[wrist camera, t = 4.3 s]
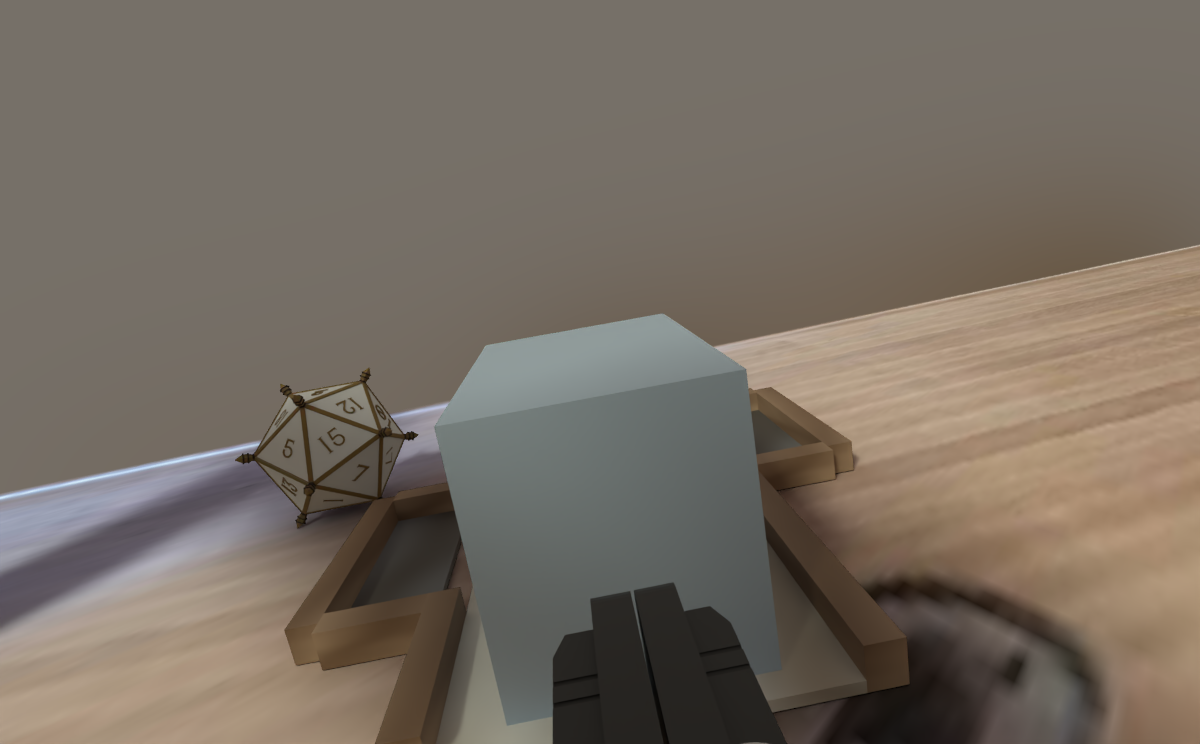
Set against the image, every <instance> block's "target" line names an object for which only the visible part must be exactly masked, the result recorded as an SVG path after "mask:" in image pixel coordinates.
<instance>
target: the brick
mask: <svg viewBox="0 0 1200 744" xmlns="http://www.w3.org/2000/svg"><path fill="white" fill-rule="evenodd" d="M434 428H435V432H436V436H437V440H438V444H439V448H440V452H441V456H442V461H443V465H444V469H445V473H446V477H447V481H448V485H449V489H450V493H451V498H452V502H453V506H454V510H455V514H456V518H457V522H458V526H459V531H460V535H461V539H462V543H463V547H464V551H465V555H466V559H467V563H468V568H469V572H470V576H471V580H472V584H473V588H474V592H475V596H476V600H477V605H478V609H479V613H480V617H481V621H482V625H483V629H484V633H485V638H486V642H487V646H488V650H489V654H490V658H491V662H492V666H493V670H494V675H495V679H496V683H497V687H498V691H499V695H500V699H501V703H502V707H503V712H504V716H505V720H506V724H507V726H509V725H514V724H519V723H524V722H528V721H533V720H538V719H543V718H548V717H553V657H554V655H555V653H556V651H557V649H558V647H559V645H560V643H561V641H562V639H563V638H564V636H565V635H567V634H572V633H577V632H582V631H587V630H592V629H593V624H592V614H591V604H590V599H591V598H596V597H601V596H607V595H612V594H617V593H622V592H627V591H630V592H631V597H632V601H633V606H634V610H635V615H636V619H637V624H638V629H639V633H640V638H641V642H642V636H641V631H640V625H639V619H638V614H637V608H636V602H635V596H634V590H636V589H641V588H646V587H652V586H657V585H662V584H667V583H672V582H674V584H675V586H676V589H677V592H678V595H679V598H680V601H681V603H682V606H683V609H684V611H687V610H692V609H697V608H702V607H708V606H711V607H712V608H713V609H714V610H716V611H717V612H718V613H719V614H721V615H722V616H723V617H725V618H726V619H727V620H728V621H730V622H731V624H732V626H733V629H734V631H735V633H736V635H737V637H738V639H739V642H740V644H741V647H742V649H743V650H744V652H745V655H746V657H747V659H748V661H749V663H750V667H751V668H752V670H753V672H754V674H755V675H759V674H764V673H768V672H773V671H778V670H782V667H781V659H780V650H779V642H778V634H777V625H776V617H775V608H774V600H773V592H772V583H771V575H770V566H769V558H768V550H767V541H766V533H765V524H764V516H763V508H762V499H761V491H760V482H759V474H758V465H757V457H756V449H755V440H754V432H753V423H752V415H751V407H750V398H749V390H748V381H747V373H746V369H745V368H744V367H742V366H741V365H739V364H738V363H736V362H735V361H733V360H732V359H730V358H729V357H727V356H726V355H724V354H723V353H721V352H720V351H718V350H717V349H715V348H714V347H712V346H711V345H709V344H708V343H706V342H705V341H703V340H702V339H700V338H699V337H697V336H696V335H694V334H693V333H691V332H690V331H688V330H687V329H685V328H684V327H682V326H681V325H679V324H678V323H676V322H675V321H673V320H672V319H670V318H669V317H667V316H666V315H664V314H657V315H652V316H646V317H641V318H635V319H630V320H624V321H619V322H614V323H608V324H602V325H596V326H591V327H586V328H580V329H574V330H569V331H563V332H558V333H552V334H547V335H541V336H535V337H530V338H524V339H519V340H514V341H509V342H502V343H497V344H491V345H486V346H485V348H484V349H483V351H482V353H481V354H480V356H479V357H478V359H477V361H476V362H475V364H474V365H473V367H472V368H471V370H470V371H469V373H468V374H467V376H466V378H465V379H464V381H463V382H462V384H461V386H460V387H459V389H458V390H457V392H456V393H455V395H454V397H453V398H452V400H451V401H450V403H449V404H448V406H447V407H446V409H445V411H444V412H443V414H442V415H441V417H440V418H439V420H438V422H437V423H436V425H435V426H434ZM642 647H643V642H642ZM643 651H644V648H643ZM644 656H645V654H644ZM645 661H646V659H645Z"/></svg>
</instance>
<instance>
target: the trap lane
mask: <svg viewBox="0 0 1200 744" xmlns="http://www.w3.org/2000/svg"><path fill="white" fill-rule="evenodd" d="M748 390H749V398H750V407H751V415H752V423H753V432H754V440H755V449H756V457H757V465H758V474H759V482H760V491H761V499H762V508H763V516H764V524H765V533H766V541H767V550H768V558H769V566H770V575H771V583H772V592H773V600H774V608H775V617H776V625H777V634H778V642H779V650H780V659H781V667H782V670H778V671H773V672H768V673H764V674H759V675H755V676H756V678H757V680H758V683H759V685H760V687H761V689H762V691H763V693H764V696H765V698H766V700H767V702H768V704H769V706H770V709H771V711H772V713H773V712H778V711H782V710H787V709H792V708H797V707H802V706H807V705H811V704H816V703H821V702H826V701H831V700H836V699H840V698H845V697H850V696H855V695H860V694H865V693H869V692H874V691H879V690H884V689H889V688H894V687H898V686H903V685H908V684H910V681H909V666H908V650H907V637H906V636H905V635H904V634H903V632H902V631H901V630H900V629H899V628H898V627H897V626H896V625H895V623H894V622H893V621H892V620H891V619H890V618H889V617H888V616H887V614H886V613H885V612H884V611H883V610H882V609H881V608H880V607H879V605H878V604H877V603H876V602H875V601H874V600H873V599H872V598H871V596H870V595H869V594H868V593H867V592H866V591H865V590H864V589H863V588H862V586H861V585H860V584H859V583H858V582H857V581H856V580H855V579H854V577H853V576H852V575H851V574H850V573H849V572H848V571H847V570H846V568H845V567H844V566H843V565H842V564H841V563H840V562H839V561H838V559H837V558H836V557H835V556H834V555H833V554H832V553H831V552H830V550H829V549H828V548H827V547H826V546H825V545H824V544H823V543H822V541H821V540H820V539H819V538H818V537H817V536H816V535H815V534H814V533H813V531H812V530H811V529H810V528H809V527H808V526H807V525H806V524H805V522H804V521H803V520H802V519H801V518H800V517H799V516H798V515H797V513H796V512H795V511H794V510H793V509H792V508H791V507H790V506H789V504H788V503H787V502H786V501H785V500H784V499H783V498H782V497H781V495H780V494H779V493H778V492H777V491H776V490H781V489H787V488H792V487H797V486H802V485H807V484H812V483H818V482H823V481H828V480H833V479H836V477H835V473H840V472H845V471H850V470H854V467H853V455H852V443H851V441H850V440H849V439H847V438H846V437H844V436H843V435H841V434H840V433H838V432H837V431H835V430H834V429H832V428H831V427H829V426H828V425H826V424H825V423H823V422H822V421H820V420H819V419H817V418H816V417H814V416H813V415H812V414H810V413H809V412H807V411H806V410H804V409H803V408H801V407H800V406H798V405H797V404H795V403H794V402H792V401H791V400H789V399H788V398H786V397H785V396H783V395H782V394H780V393H779V392H777V391H776V390H774V389H773V388H772V387H769V388H764V389H758V390H752V389H751V388H749V389H748ZM461 541H462V539H461V535H460V531H459V526H458V522H457V518H456V514H455V510H454V506H453V502H452V498H451V493H450V489H449V485H448V482H447V483H442V484H436V485H431V486H426V487H420V488H415V489H410V490H404V491H399V492H398V494H397V495H396V496H394V497H388V498H383V499H378V500H374V501H373V502H372V504H371V505H370V507H369V508H368V509H367V511H366V512H365V514H364V515H363V517H362V518H361V520H360V521H359V522H358V524H357V525H356V527H355V528H354V530H353V531H352V533H351V534H350V536H349V537H348V538H347V540H346V541H345V543H344V544H343V546H342V547H341V549H340V550H339V552H338V553H337V554H336V556H335V557H334V559H333V560H332V562H331V563H330V565H329V566H328V567H327V569H326V570H325V572H324V573H323V575H322V576H321V578H320V579H319V581H318V582H317V583H316V585H315V586H314V588H313V589H312V591H311V592H310V594H309V595H308V597H307V598H306V599H305V601H304V602H303V604H302V605H301V607H300V608H299V610H298V611H297V612H296V614H295V615H294V617H293V618H292V620H291V621H290V623H289V624H288V626H287V627H286V628H285V634H286V637H287V640H288V643H289V646H290V649H291V652H292V655H293V658H294V661H295V664H296V665H301V664H306V663H311V662H317V661H320V663H321V667H322V670H327V669H332V668H337V667H342V666H347V665H352V664H357V663H362V662H367V661H373V660H378V659H383V658H388V657H393V656H398V655H403V654H407V655H406V657H405V660H404V663H403V666H402V669H401V672H400V674H399V677H398V680H397V683H396V686H395V689H394V691H393V694H392V697H391V700H390V703H389V706H388V708H387V711H386V714H385V717H384V720H383V722H382V725H381V728H380V731H379V734H378V737H377V739H376V742H375V744H553V717H548V718H543V719H538V720H533V721H528V722H524V723H519V724H514V725H509V726H507V724H506V720H505V716H504V712H503V707H502V703H501V699H500V695H499V691H498V687H497V683H496V679H495V675H494V670H493V666H492V662H491V658H490V654H489V650H488V646H487V642H486V638H485V633H484V629H483V625H482V621H481V617H480V613H479V609H478V605H477V600H476V596H475V592H474V588H473V587H472V591H471V595H470V600H469V604H468V608H467V612H466V609H465V605H464V601H463V597H462V593H461V589H460V587H458V588H452V589H447V587H448V583H449V580H450V577H451V573H452V570H453V567H454V564H455V560H456V557H457V554H458V551H459V547H460V544H461Z"/></svg>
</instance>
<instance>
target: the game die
mask: <svg viewBox="0 0 1200 744" xmlns="http://www.w3.org/2000/svg"><path fill="white" fill-rule="evenodd" d="M360 376H361V380H360V381H356V382H351V383H345V384H340V385H335V386H329V387H323V388H318V389H312V390H307V391H302V392H296V393H292V392H291V389H290V388H289V386H287V385H286V386H285V385H282V384H280V386H281V390H280V392H282V393H283V395H286V396H287V398H286V400H285V402H284V403H283V405H282V407H281V409H280V410H279V412H278V414H277V415H276V417H275V419H274V421H273V422H272V424H271V426H270V428H269V429H268V431H267V433H266V434H265V436H264V438H263V440H262V441H261V443H260V445H259V446H258V448H257V450H256V452H255V453H254V454H253V455H251V454H248V453H247V454H244V455H243V454H242V455H241V456H240V457H238V458H237V459H236V460H235V461H238V462H241V463H243V464H244V463H249V462H251V461H256V462H257V464H258V465H259V466H260V467H261V468H262V469H263V470H264V471H265V472H266V474H267V475H268V476H269V477H270V478H271V479H272V480H273V481H274V483H275V484H276V485H277V486H278V487H279V488H280V489H281V490H282V491H283V493H284V494H285V495H286V496H287V497H288V498H289V499H290V500H291V501H292V503H293V504H294V505H295V506H296V507H297V508H298V509H299V510H300V512H301V514H300V515H299V516H297V517H298V518H297V520H295V521H296V523H297V529H298V528H299V527H300V526H302V525H303V524H306V523H305V521H306V520H307V514H310V513H315V512H321V511H326V510H331V509H336V508H341V507H346V506H351V505H357V504H362V503H367V502H372V501H374V500H378V499H383V498H382V497H381V496H382V493H383V491H384V489H385V486H386V484H387V481H388V479H389V476H390V474H391V471H392V469H393V466H394V464H395V462H396V459H397V457H398V454H399V452H400V449H401V447H402V444H403V442H404V440H405V439H407V440H408V441H409V440H414V438H415V437H417V436H418V434H416V433H414V432H412V431H411V432H407V433H406V434H403V432H402V431H401V430H400V428H399V427H398V426H397V424H396V423H395V422H394V420H393V419H392V418H391V416H390V415H389V414H388V412H387V411H386V410H385V408H384V407H383V406H382V404H381V403H380V402H379V401H378V399H377V398H376V396H375V395H374V394H373V392H372V391H371V390H370V388H369V387H368V385H367V384H366V381H367V380H368V379H369V377H370V376H371V375H370V369H369V368H368V369H366V370H365V371H363V372H362V375H360Z"/></svg>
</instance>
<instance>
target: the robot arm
mask: <svg viewBox="0 0 1200 744" xmlns="http://www.w3.org/2000/svg"><path fill="white" fill-rule="evenodd" d="M634 596H635V602H636V608H637V614H638V619H639V625H640V631H641V636H642V642H643V647H642V642H641V638H640V633H639V629H638V624H637V619H636V615H635V610H634V606H633V601H632V597H631V592H630V591H627V592H622V593H617V594H612V595H607V596H601V597H596V598H591V599H590V604H591V614H592V624H593V629H592V630H587V631H582V632H577V633H572V634H567V635H565V636H564V638H563V639H562V641H561V643H560V645H559V647H558V649H557V651H556V653H555V655H554V657H553V744H787V743H786V741H785V739H784V737H783V734H782V732H781V730H780V728H779V726H778V724H777V721H776V719H775V717H774V715H773V713H772V711H771V709H770V706H769V704H768V702H767V700H766V698H765V696H764V693H763V691H762V689H761V687H760V685H759V683H758V680H757V678H756V676H755V674H754V672H753V670H752V668H751V667H750V663H749V661H748V659H747V657H746V655H745V652H744V650H743V649H742V647H741V644H740V642H739V639H738V637H737V635H736V633H735V631H734V629H733V626H732V624H731V622H730V621H728V620H727V619H726V618H725V617H723V616H722V615H721V614H719V613H718V612H717V611H716V610H714V609H713V608H712V607H711V606H708V607H702V608H697V609H692V610H687V611H684V609H683V606H682V603H681V601H680V598H679V595H678V592H677V589H676V586H675V584H674V582H672V583H667V584H662V585H657V586H652V587H646V588H641V589H636V590H634ZM643 648H644V651H643ZM644 654H645V656H644ZM645 659H646V661H645Z"/></svg>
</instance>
